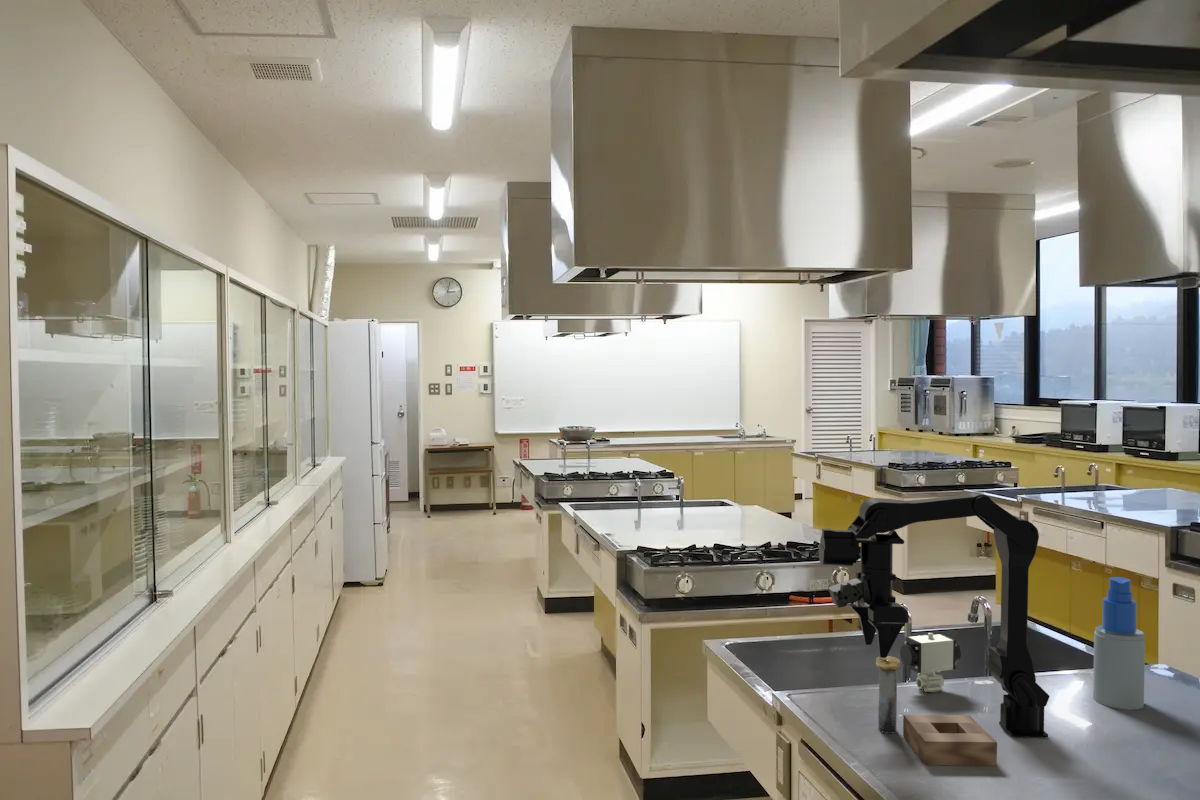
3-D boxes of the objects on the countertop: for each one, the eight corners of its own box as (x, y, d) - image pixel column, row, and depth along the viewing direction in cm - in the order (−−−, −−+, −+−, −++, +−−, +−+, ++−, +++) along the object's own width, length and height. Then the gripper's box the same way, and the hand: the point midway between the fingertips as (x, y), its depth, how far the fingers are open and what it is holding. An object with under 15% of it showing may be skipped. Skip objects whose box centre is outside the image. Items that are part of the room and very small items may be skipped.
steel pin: (895, 725, 170) (896, 656, 169) (902, 734, 166) (902, 663, 165) (872, 725, 170) (873, 655, 169) (879, 734, 166) (879, 663, 165)
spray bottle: (1094, 690, 188) (1096, 572, 188) (1144, 699, 184) (1146, 577, 183) (1091, 703, 181) (1093, 580, 180) (1143, 713, 176) (1145, 586, 175)
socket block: (969, 737, 164) (969, 715, 164) (996, 765, 152) (996, 742, 152) (903, 736, 165) (903, 714, 165) (925, 764, 153) (925, 741, 153)
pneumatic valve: (961, 691, 188) (961, 634, 188) (912, 696, 185) (912, 638, 185) (944, 682, 193) (945, 627, 193) (896, 687, 190) (897, 631, 190)
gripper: (821, 558, 177) (820, 637, 177) (846, 575, 159) (845, 664, 159) (877, 559, 177) (877, 638, 177) (909, 576, 159) (908, 665, 158)
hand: (875, 650), depth 168 cm, fingers open, 9 cm apart
